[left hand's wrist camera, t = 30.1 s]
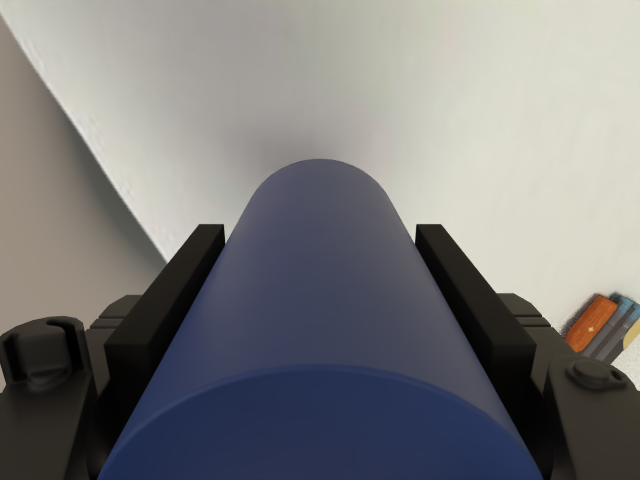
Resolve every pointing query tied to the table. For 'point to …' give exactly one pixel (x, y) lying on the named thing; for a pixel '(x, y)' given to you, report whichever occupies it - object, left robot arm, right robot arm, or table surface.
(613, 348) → the toy gun
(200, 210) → the table surface
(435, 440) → the canister
